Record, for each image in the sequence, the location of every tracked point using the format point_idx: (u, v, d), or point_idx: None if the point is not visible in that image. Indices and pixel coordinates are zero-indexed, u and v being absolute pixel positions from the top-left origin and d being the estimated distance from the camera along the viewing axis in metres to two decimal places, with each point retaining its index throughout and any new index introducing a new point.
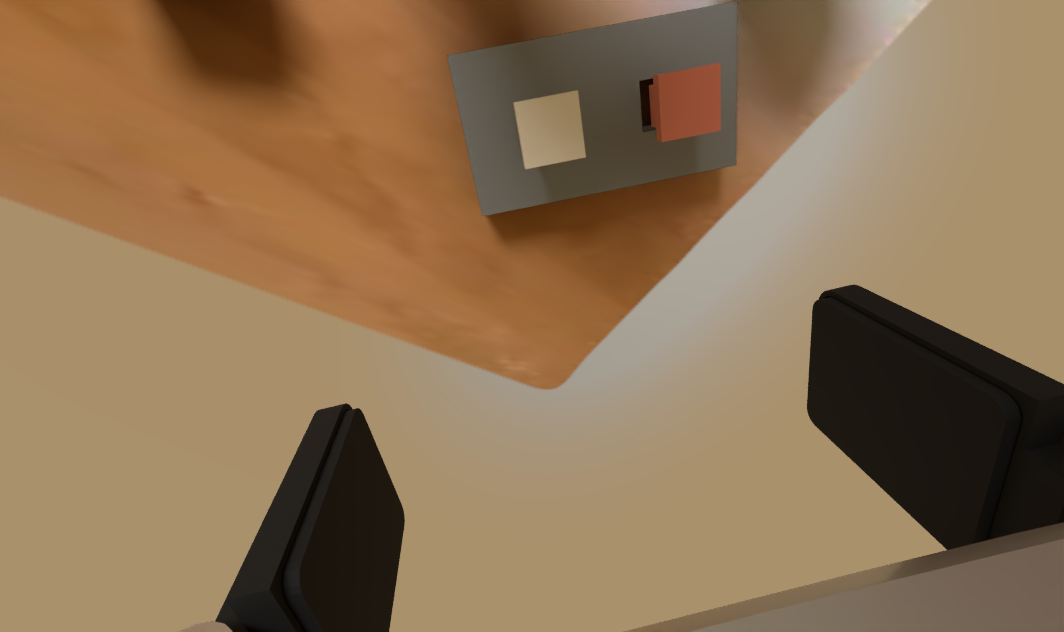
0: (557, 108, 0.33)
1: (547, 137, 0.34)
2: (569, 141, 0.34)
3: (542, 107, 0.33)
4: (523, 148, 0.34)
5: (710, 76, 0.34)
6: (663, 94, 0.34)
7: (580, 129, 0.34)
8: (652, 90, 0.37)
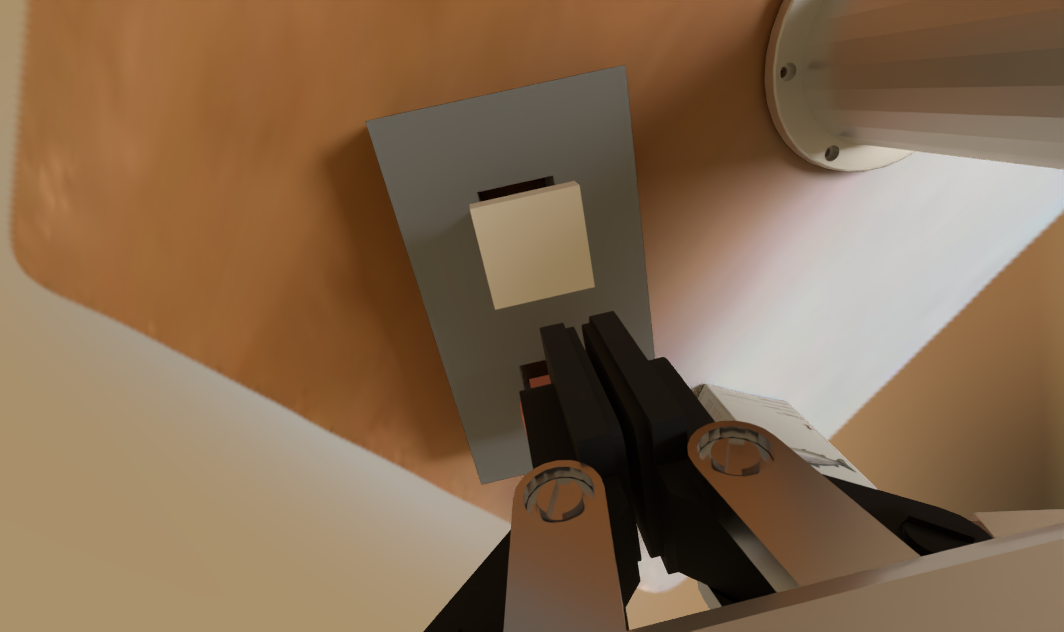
0: (569, 257, 0.20)
1: (525, 245, 0.20)
2: (519, 281, 0.20)
3: (571, 233, 0.20)
4: (505, 204, 0.19)
5: None
6: None
7: (538, 296, 0.21)
8: None
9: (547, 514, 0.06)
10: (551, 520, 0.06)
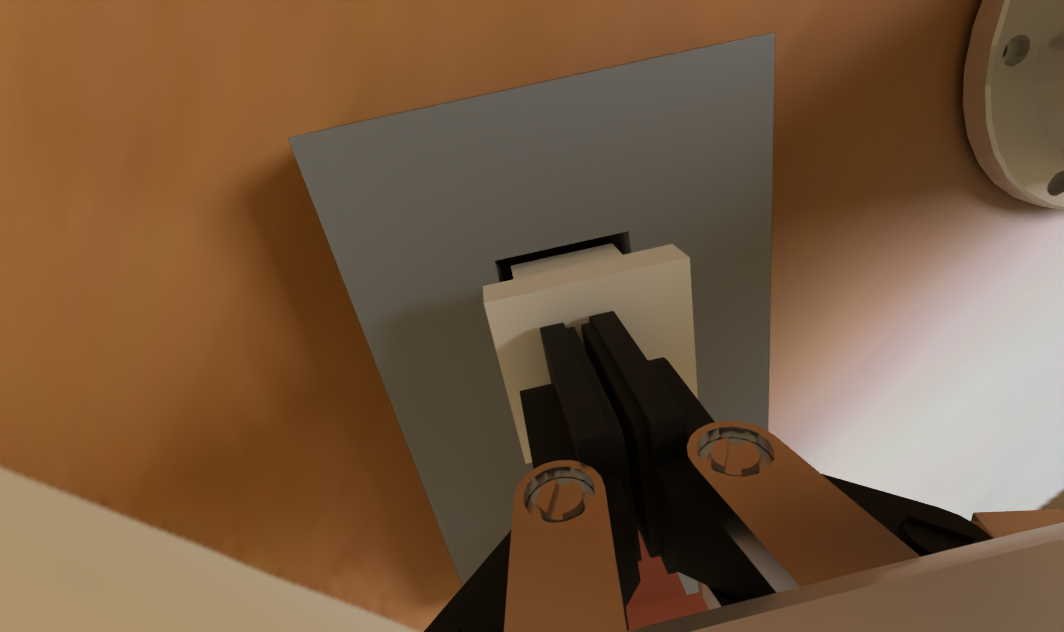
0: None
1: None
2: None
3: (667, 340, 0.11)
4: (551, 292, 0.10)
5: None
6: None
7: None
8: None
9: (548, 514, 0.06)
10: (552, 520, 0.06)
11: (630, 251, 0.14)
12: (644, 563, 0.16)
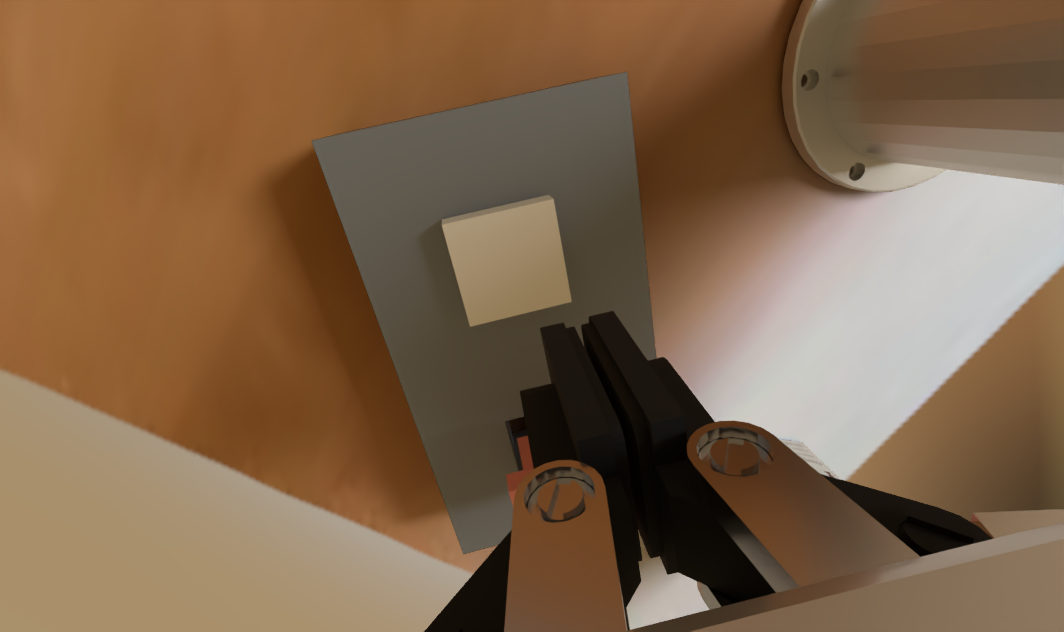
0: (545, 272, 0.20)
1: (499, 260, 0.19)
2: (494, 297, 0.20)
3: (546, 248, 0.20)
4: (478, 219, 0.19)
5: None
6: None
7: (513, 312, 0.20)
8: None
9: (548, 514, 0.06)
10: (552, 520, 0.06)
11: None
12: None
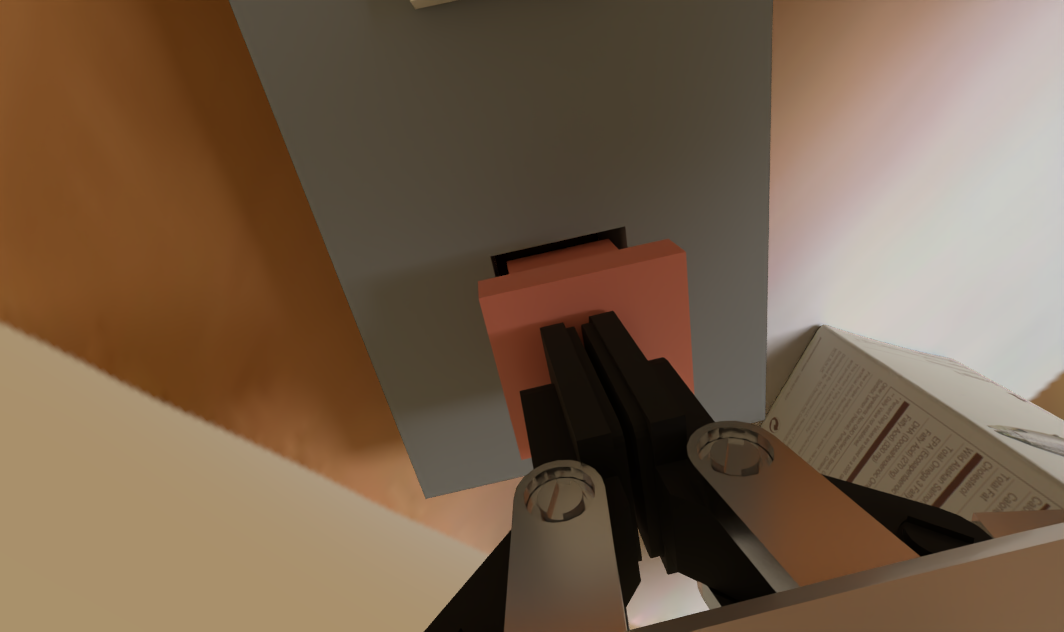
0: None
1: None
2: None
3: None
4: None
5: None
6: (627, 278, 0.10)
7: None
8: (602, 248, 0.13)
9: (548, 514, 0.06)
10: (552, 520, 0.06)
11: None
12: None
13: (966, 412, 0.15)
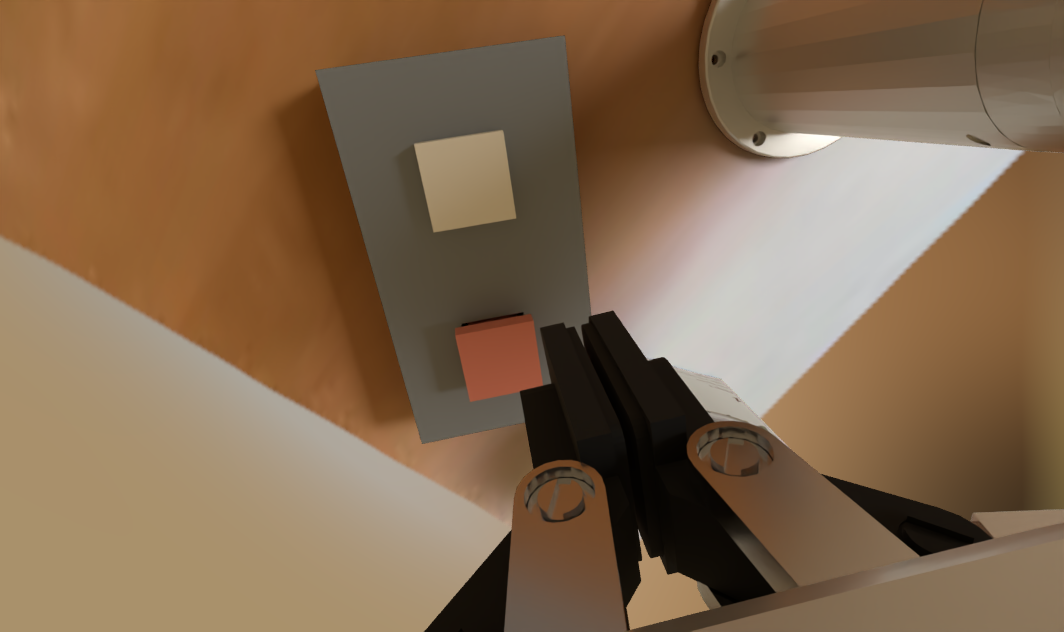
0: (495, 191, 0.25)
1: (458, 178, 0.25)
2: (454, 209, 0.25)
3: (496, 170, 0.25)
4: (443, 142, 0.24)
5: (529, 379, 0.29)
6: (511, 329, 0.27)
7: (469, 223, 0.26)
8: None
9: (548, 514, 0.06)
10: (552, 520, 0.06)
11: None
12: (502, 317, 0.30)
13: None
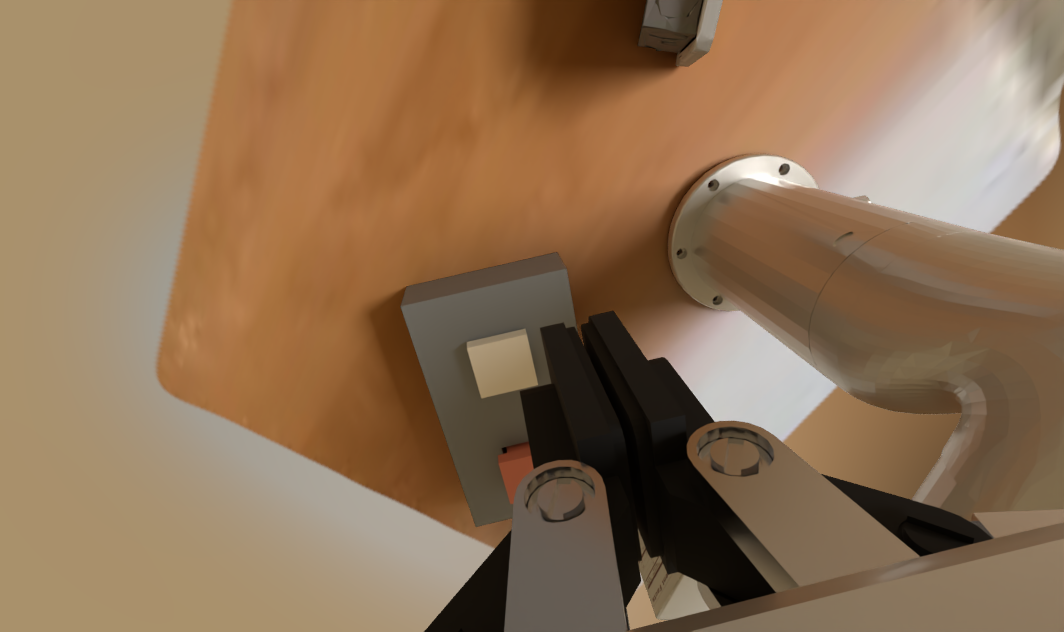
0: (522, 370, 0.36)
1: (497, 364, 0.36)
2: (494, 383, 0.36)
3: (523, 358, 0.36)
4: (486, 345, 0.35)
5: None
6: None
7: (505, 391, 0.37)
8: None
9: (548, 514, 0.06)
10: (552, 520, 0.06)
11: None
12: None
13: None
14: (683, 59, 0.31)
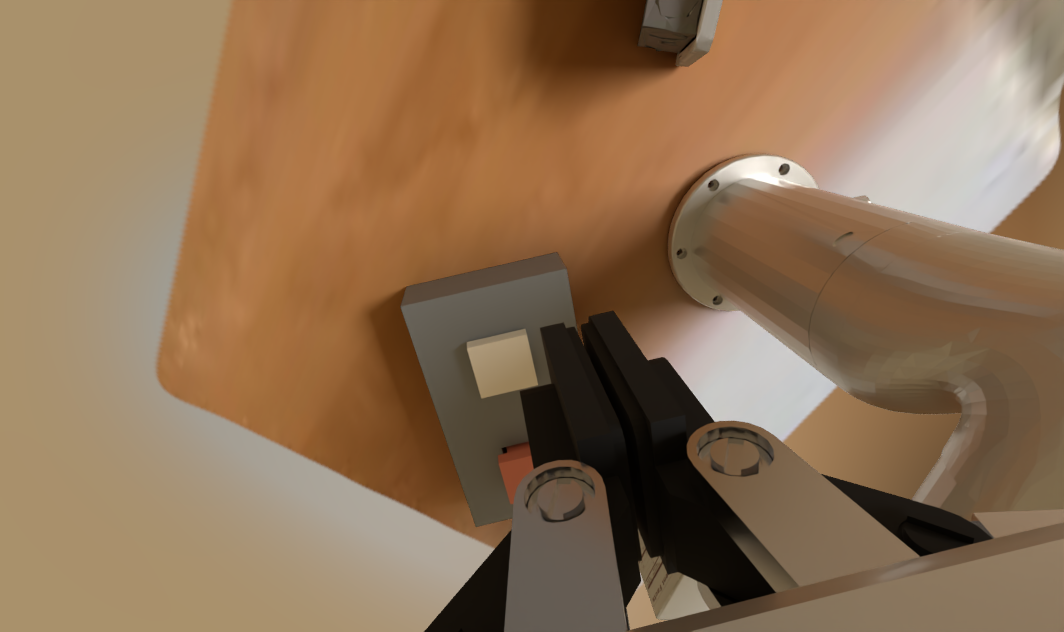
0: (522, 370, 0.36)
1: (497, 365, 0.36)
2: (494, 383, 0.36)
3: (523, 358, 0.36)
4: (486, 345, 0.35)
5: None
6: None
7: (505, 391, 0.37)
8: None
9: (548, 514, 0.06)
10: (552, 520, 0.06)
11: None
12: None
13: None
14: (683, 59, 0.31)
